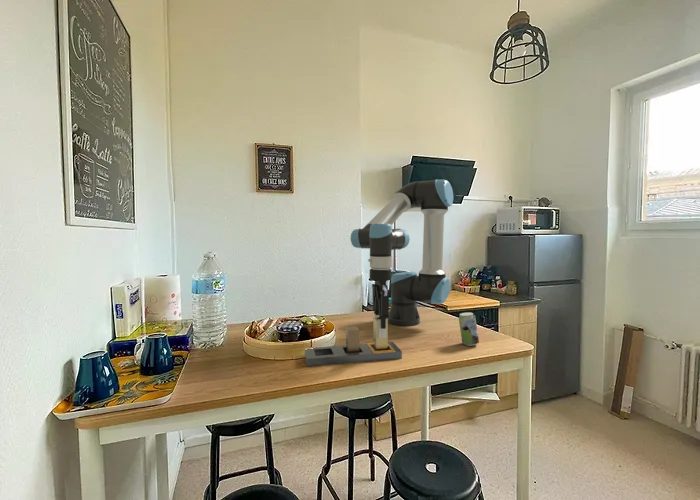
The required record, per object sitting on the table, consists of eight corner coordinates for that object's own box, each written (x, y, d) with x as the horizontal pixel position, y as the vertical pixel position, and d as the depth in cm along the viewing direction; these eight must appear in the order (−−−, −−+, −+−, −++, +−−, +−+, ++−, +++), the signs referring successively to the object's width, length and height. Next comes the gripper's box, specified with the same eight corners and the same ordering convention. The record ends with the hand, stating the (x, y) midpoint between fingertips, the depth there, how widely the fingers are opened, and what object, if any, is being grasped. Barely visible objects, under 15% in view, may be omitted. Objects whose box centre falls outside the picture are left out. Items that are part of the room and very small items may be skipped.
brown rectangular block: (345, 355, 121) (345, 327, 121) (357, 354, 122) (356, 326, 121) (347, 359, 117) (347, 330, 117) (359, 358, 118) (359, 329, 117)
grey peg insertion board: (304, 355, 122) (304, 347, 121) (392, 348, 128) (392, 341, 127) (306, 366, 112) (306, 358, 112) (401, 358, 118) (401, 350, 118)
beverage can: (480, 347, 127) (480, 315, 127) (459, 346, 129) (459, 314, 128) (477, 342, 134) (478, 311, 133) (457, 341, 135) (457, 310, 134)
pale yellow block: (373, 345, 123) (373, 317, 122) (384, 344, 124) (384, 316, 123) (376, 349, 119) (376, 320, 118) (387, 348, 120) (387, 319, 119)
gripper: (364, 265, 127) (364, 328, 129) (376, 271, 110) (376, 344, 112) (383, 265, 129) (383, 327, 130) (399, 271, 112) (398, 342, 113)
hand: (380, 335), depth 121 cm, fingers closed on pale yellow block, 4 cm apart
